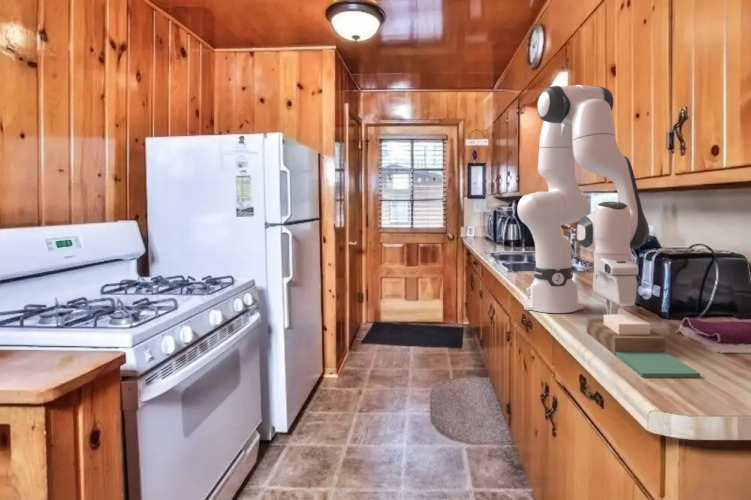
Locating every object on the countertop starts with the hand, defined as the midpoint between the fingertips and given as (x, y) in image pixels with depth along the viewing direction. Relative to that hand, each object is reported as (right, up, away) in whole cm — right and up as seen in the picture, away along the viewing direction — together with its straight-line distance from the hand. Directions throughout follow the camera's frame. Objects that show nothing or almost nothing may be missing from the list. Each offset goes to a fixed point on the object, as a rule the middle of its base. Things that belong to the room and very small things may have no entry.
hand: (612, 315), depth 128 cm
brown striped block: (-1, -6, -7) cm, 9 cm away
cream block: (-1, -2, -9) cm, 9 cm away
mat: (-3, -8, -24) cm, 25 cm away
